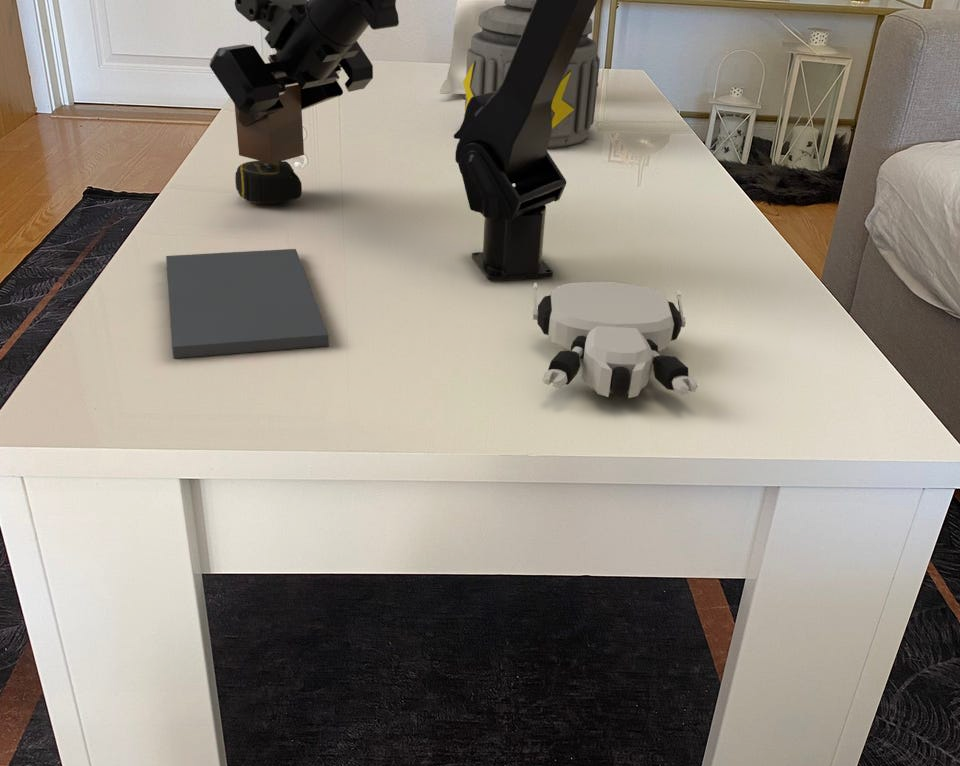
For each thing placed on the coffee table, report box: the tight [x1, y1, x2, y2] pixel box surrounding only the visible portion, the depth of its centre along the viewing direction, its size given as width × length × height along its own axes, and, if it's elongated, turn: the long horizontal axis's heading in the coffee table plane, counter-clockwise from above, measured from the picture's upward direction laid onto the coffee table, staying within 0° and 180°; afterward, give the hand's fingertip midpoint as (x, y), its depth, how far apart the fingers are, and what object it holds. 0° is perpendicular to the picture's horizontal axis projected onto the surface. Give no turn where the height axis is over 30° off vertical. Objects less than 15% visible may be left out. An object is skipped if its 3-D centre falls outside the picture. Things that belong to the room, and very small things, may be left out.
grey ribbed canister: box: [463, 0, 601, 149], centre depth 134 cm, size 19×19×30 cm
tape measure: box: [234, 160, 303, 205], centre depth 109 cm, size 7×7×4 cm
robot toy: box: [532, 281, 698, 399], centre depth 77 cm, size 12×4×15 cm
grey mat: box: [165, 248, 330, 359], centre depth 85 cm, size 20×12×1 cm, turn 16°
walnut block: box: [234, 84, 305, 164], centre depth 106 cm, size 5×5×8 cm
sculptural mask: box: [438, 0, 506, 95], centre depth 155 cm, size 17×12×16 cm
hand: (259, 118), depth 107 cm, fingers closed on walnut block, 5 cm apart
